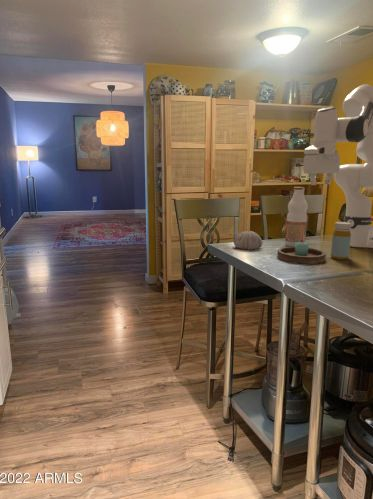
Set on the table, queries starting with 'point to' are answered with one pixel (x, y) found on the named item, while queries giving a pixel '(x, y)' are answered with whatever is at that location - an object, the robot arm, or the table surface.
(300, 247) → the bead
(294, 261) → the round tray
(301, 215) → the fruit juice
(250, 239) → the sea urchin shell
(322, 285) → the table surface
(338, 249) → the bottle
